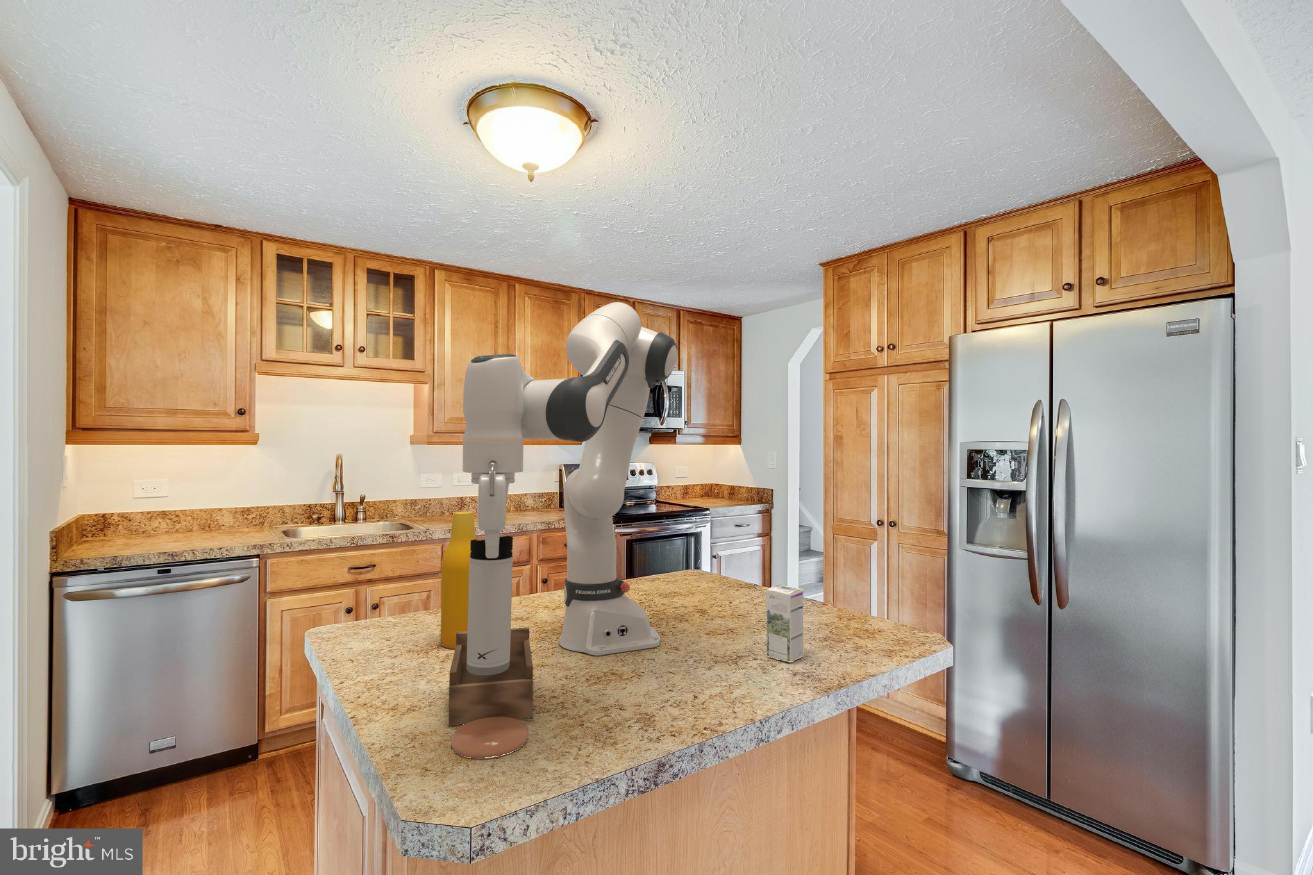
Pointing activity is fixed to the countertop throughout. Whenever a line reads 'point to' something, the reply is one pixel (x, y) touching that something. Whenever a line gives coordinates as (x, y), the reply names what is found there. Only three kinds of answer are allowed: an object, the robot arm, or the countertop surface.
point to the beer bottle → (456, 579)
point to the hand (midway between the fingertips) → (492, 552)
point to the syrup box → (785, 622)
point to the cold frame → (492, 684)
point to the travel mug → (489, 608)
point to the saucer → (489, 737)
